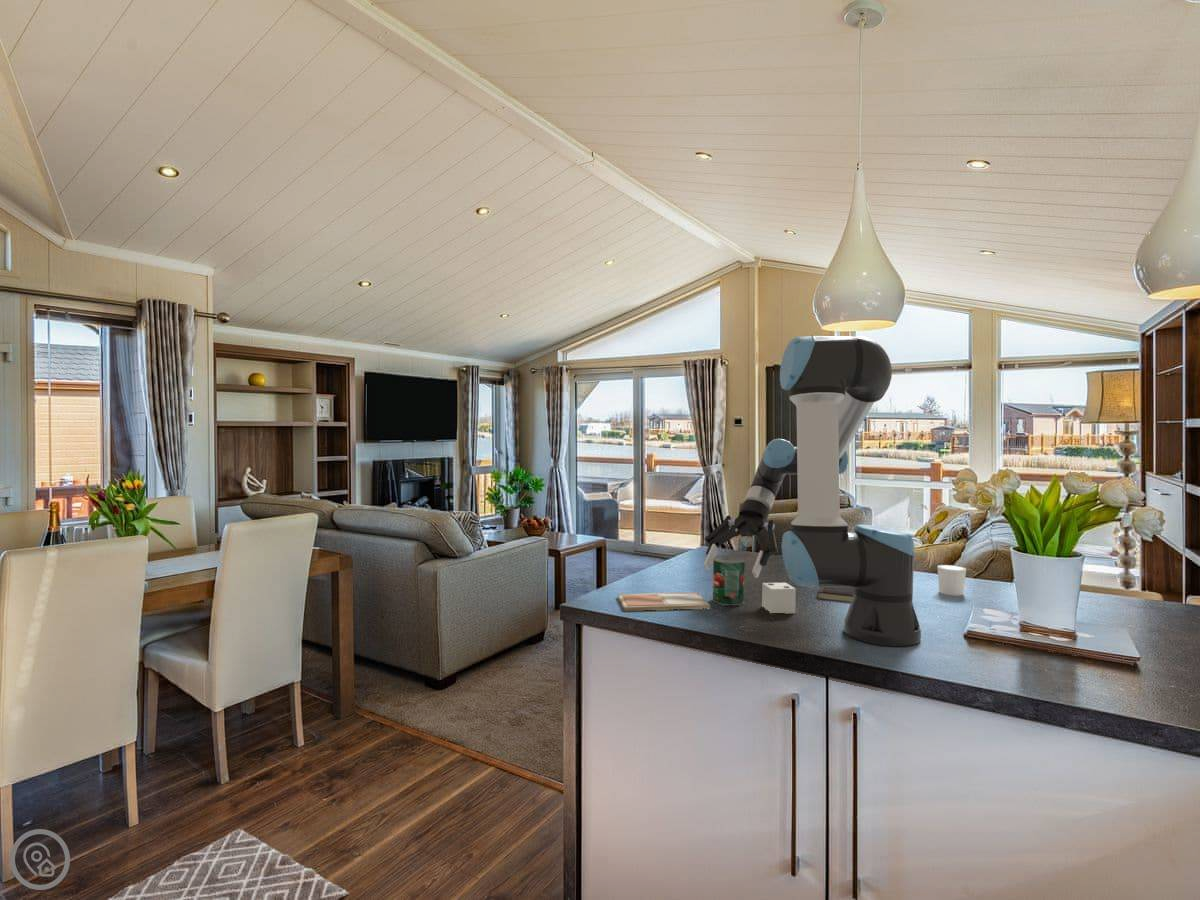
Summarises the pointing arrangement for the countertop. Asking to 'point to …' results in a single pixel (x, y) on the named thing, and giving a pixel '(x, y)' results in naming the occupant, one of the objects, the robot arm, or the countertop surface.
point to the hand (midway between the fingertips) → (730, 570)
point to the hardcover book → (836, 593)
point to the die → (778, 597)
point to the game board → (662, 601)
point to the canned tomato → (728, 580)
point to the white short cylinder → (951, 579)
